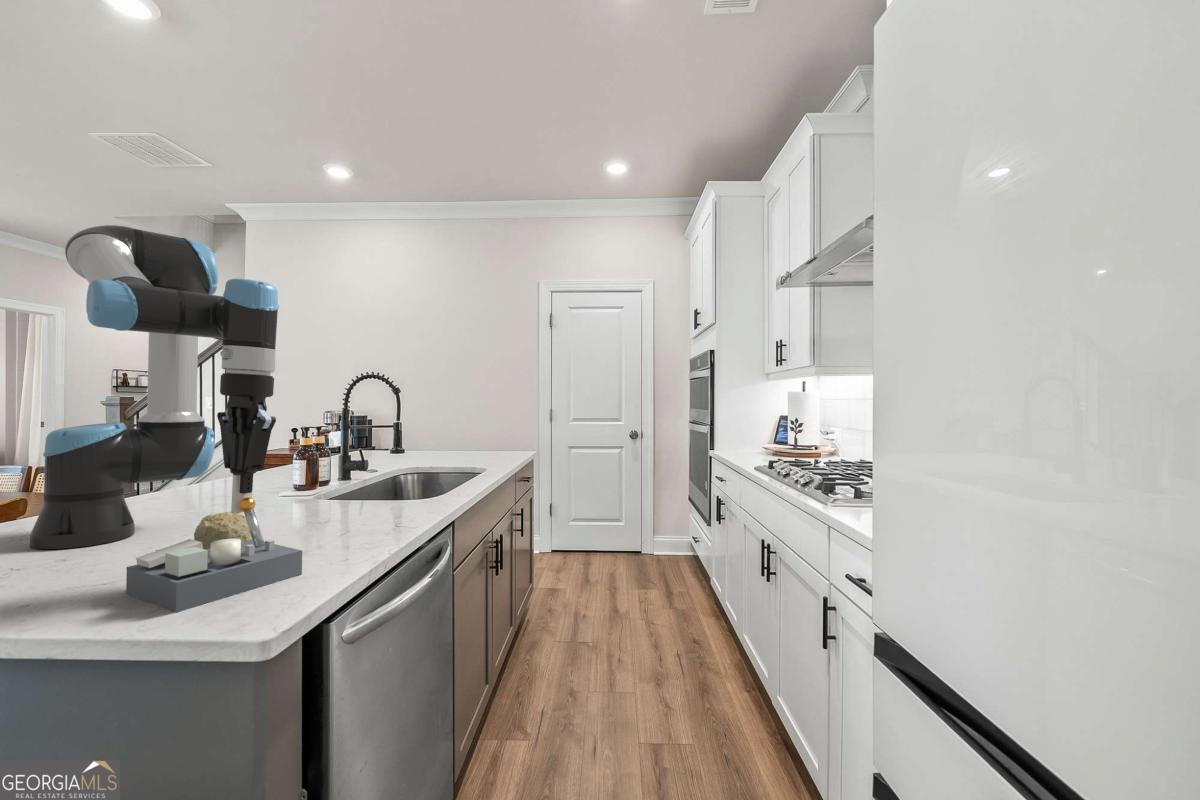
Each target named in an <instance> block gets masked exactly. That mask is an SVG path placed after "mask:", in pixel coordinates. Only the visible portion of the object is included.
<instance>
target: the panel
mask: <svg viewBox="0 0 1200 800" xmlns="http://www.w3.org/2000/svg"><path fill="white" fill-rule="evenodd" d="M264 543H265V545H263V546H261V547H258V548H255V545H254V543H253V540H252V539H251V540H247V541H242V542H241V560H240V561H238V562H235V563H232V564H227V565H211V564H210V549H206V550H208V558H207V570H203V571H199V572H195V573H191V574H187V575H183V576H179V577H178V576H175V575H172V574H168V573H165V563H162V564H159V565H157V566H154V567H151V568H147V567H144V566H141V565H138V564H134V565H129V566H126V575H125V576H126V581H125V582H126V585H125V586H126V587H125V588H126V589H125V590H126V593H125V594H126V595H129V596H131V597H134V598H136V599H139V600H142V601H145V602H148V603H150V604H153V605H155V606H159V607H161V608H164V609H165V610H169V611H172V612H174V613H178V612H181V611H184V610H185V611H186V610H188V609H192V608H194V607H199V606H202V605H205V604H208V603H211V602H214V601H218V600H222V599H225V598H228V597H231V596H235V595H238V594H241V593H244V592H247V591H251V590H254V589H257V588H260V587H264V586H267V585H271V584H273V583H277V582H281V581H284V580H287V579H292V578H294V577H298V576H301V575H303V549H299V548H293V547H288V546H286V545H285V546H284V545H280V544H275V540H274V539H273V540H272V539H267V540H265V541H264ZM160 549H161V548H159V549H155V551H157V550H160Z"/></svg>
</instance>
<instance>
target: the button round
mask: <svg viewBox="0 0 1200 800" xmlns="http://www.w3.org/2000/svg"><path fill="white" fill-rule="evenodd" d="M240 560H241V540H240V539H223V540H217V541H214V542H212V543H210V564H211V565H227V564H232V563H235V562H238V561H240Z"/></svg>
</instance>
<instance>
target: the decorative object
mask: <svg viewBox="0 0 1200 800" xmlns="http://www.w3.org/2000/svg"><path fill="white" fill-rule="evenodd" d="M193 537H194V538H193V540H195V541H199V542H202V545H203V548H202V549H204V550H206V549H210V543H212V542H214V541H217V540H223V539H240V540H241V542H242V541H247V540H251V539H252V536H251V533H250V530H249V527H248V523H247V520H246V517H245V514H244V515H243V513H242V512H241V513H235V514H233V513H231V511H226V512H217V513H215V514H213V513H211V514H208V515H205V516H204V517H202V519H201V521H200V522H199V523H198V525H197V526H196V528H195V531H194V533H193Z"/></svg>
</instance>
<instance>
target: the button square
mask: <svg viewBox="0 0 1200 800" xmlns="http://www.w3.org/2000/svg"><path fill="white" fill-rule="evenodd" d="M207 558H208V550H204V549H201V548H197V547H191V548H186V549H182V550H177V551H172V552H168V553H165V573H168V574H172V575H175V576H178V577H179V576H183V575H187V574H191V573H195V572H199V571H203V570H207Z"/></svg>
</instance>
